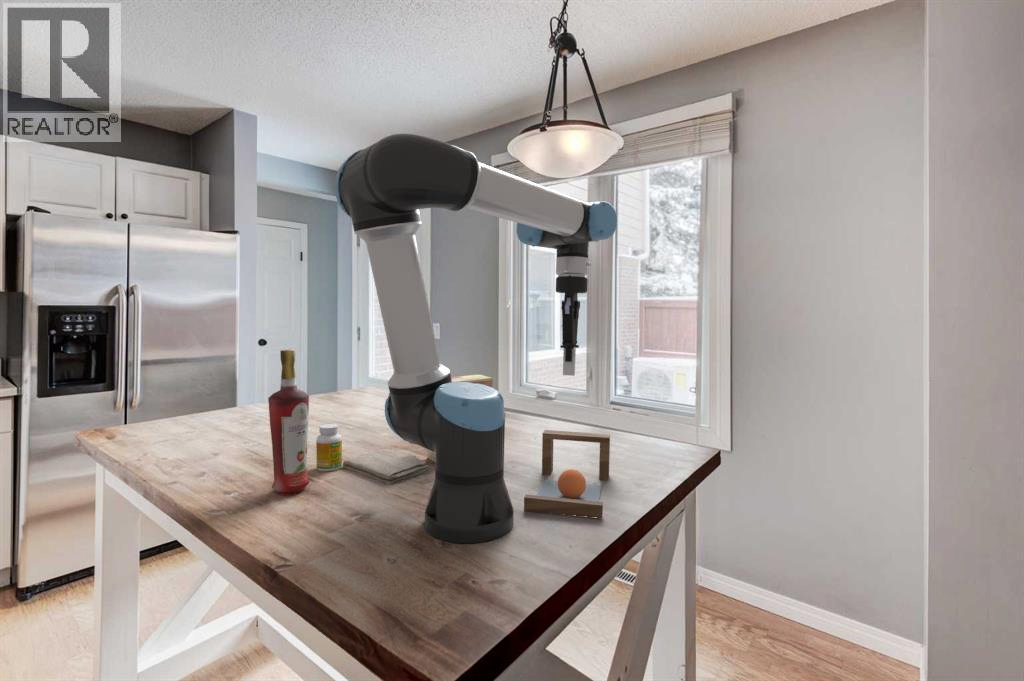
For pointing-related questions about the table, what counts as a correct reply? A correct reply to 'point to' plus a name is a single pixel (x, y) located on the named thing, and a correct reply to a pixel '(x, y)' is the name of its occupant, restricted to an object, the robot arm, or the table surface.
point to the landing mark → (551, 490)
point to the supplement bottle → (329, 448)
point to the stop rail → (563, 506)
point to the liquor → (289, 430)
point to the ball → (571, 484)
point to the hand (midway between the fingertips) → (568, 374)
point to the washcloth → (387, 465)
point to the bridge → (575, 436)
